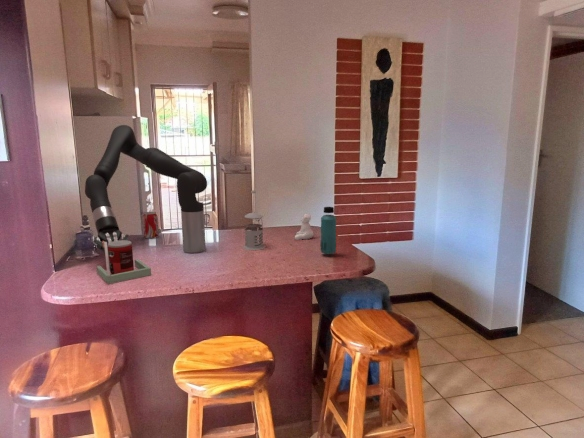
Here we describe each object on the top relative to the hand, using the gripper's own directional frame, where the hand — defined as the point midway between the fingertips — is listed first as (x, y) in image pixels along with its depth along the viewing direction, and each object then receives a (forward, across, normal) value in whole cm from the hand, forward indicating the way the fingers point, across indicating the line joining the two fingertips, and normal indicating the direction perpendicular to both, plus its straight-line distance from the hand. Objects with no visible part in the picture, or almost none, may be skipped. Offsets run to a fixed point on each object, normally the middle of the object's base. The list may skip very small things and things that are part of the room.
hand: (117, 259), depth 150 cm
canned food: (+6, 0, 0) cm, 6 cm away
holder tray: (+7, 0, +2) cm, 7 cm away
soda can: (-25, -26, -31) cm, 48 cm away
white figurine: (+7, -83, +2) cm, 84 cm away
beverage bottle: (+27, -73, +22) cm, 80 cm away
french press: (+6, -56, 0) cm, 57 cm away
